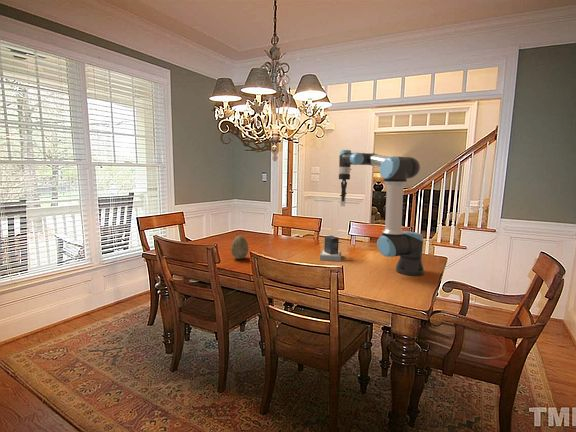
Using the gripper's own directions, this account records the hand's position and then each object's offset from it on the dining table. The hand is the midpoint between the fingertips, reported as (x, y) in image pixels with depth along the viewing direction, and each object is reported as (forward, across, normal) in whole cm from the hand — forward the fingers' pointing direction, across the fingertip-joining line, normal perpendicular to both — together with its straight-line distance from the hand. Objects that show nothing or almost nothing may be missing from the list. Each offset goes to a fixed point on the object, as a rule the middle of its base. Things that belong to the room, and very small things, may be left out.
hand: (343, 205), depth 227 cm
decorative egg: (+33, -34, +62) cm, 78 cm away
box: (+30, -17, +6) cm, 35 cm away
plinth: (+33, -17, +6) cm, 37 cm away
